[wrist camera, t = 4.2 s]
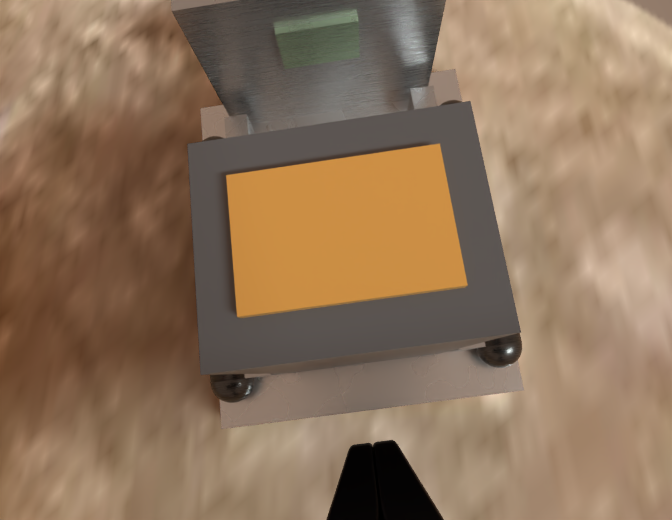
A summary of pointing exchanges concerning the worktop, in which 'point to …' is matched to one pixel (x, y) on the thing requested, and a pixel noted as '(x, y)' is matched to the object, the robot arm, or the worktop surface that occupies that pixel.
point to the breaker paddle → (346, 244)
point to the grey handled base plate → (323, 107)
